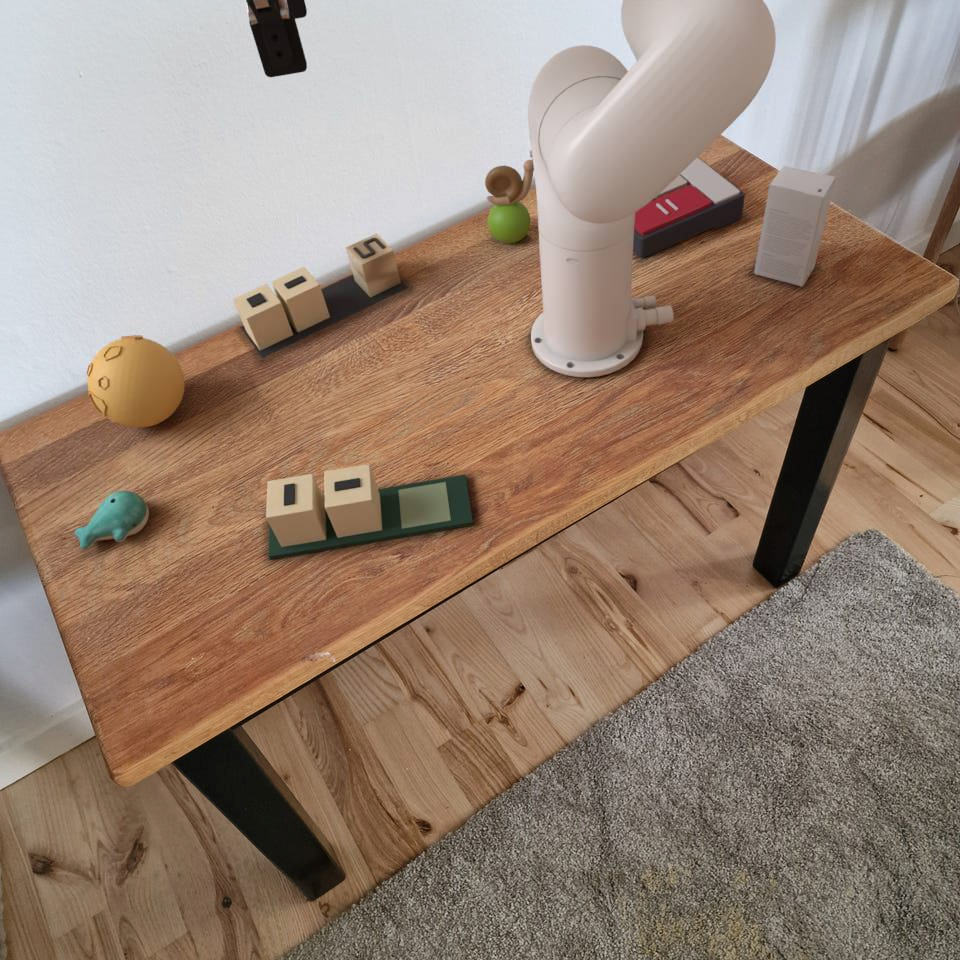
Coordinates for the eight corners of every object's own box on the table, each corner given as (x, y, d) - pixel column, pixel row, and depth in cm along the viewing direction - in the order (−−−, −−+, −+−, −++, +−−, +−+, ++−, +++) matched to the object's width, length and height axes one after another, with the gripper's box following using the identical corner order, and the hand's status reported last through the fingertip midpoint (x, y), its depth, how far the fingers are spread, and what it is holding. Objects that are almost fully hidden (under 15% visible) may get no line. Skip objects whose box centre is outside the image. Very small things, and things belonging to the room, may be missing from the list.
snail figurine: (539, 249, 105) (535, 164, 96) (489, 253, 106) (480, 168, 97) (538, 224, 109) (533, 139, 99) (490, 228, 109) (480, 144, 100)
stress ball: (201, 376, 97) (167, 310, 90) (194, 437, 91) (157, 372, 83) (117, 390, 97) (76, 325, 89) (105, 452, 91) (60, 389, 83)
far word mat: (382, 264, 107) (373, 226, 102) (409, 291, 103) (400, 252, 98) (241, 330, 102) (225, 293, 97) (263, 361, 98) (247, 324, 93)
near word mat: (466, 477, 84) (459, 440, 79) (473, 525, 80) (466, 489, 75) (271, 510, 84) (253, 475, 79) (270, 560, 80) (250, 525, 75)
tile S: (384, 266, 106) (376, 231, 102) (401, 283, 103) (393, 248, 99) (354, 280, 105) (344, 246, 100) (370, 297, 102) (361, 263, 98)
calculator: (595, 191, 106) (695, 148, 108) (596, 219, 109) (694, 177, 111) (641, 234, 99) (747, 188, 101) (641, 263, 103) (743, 218, 105)
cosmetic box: (815, 267, 98) (838, 176, 88) (802, 288, 96) (825, 197, 86) (764, 254, 100) (782, 164, 91) (751, 274, 98) (768, 184, 89)
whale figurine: (160, 530, 84) (144, 508, 81) (91, 567, 82) (72, 545, 79) (142, 493, 87) (126, 471, 84) (75, 528, 85) (56, 506, 82)
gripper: (265, -210, 47) (337, 88, 60) (272, -271, 58) (332, -7, 71) (134, -188, 47) (235, 105, 60) (166, -254, 58) (246, 7, 71)
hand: (288, 44), depth 66 cm, fingers open, 9 cm apart
